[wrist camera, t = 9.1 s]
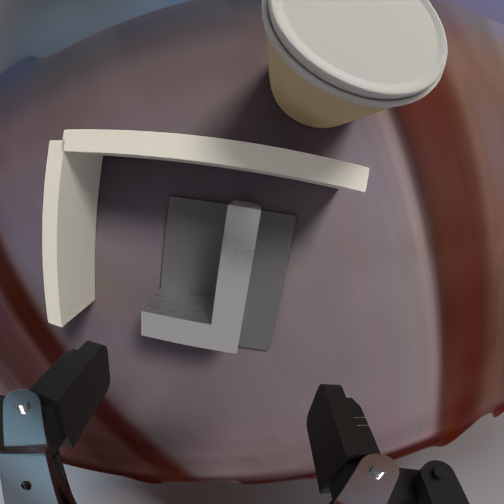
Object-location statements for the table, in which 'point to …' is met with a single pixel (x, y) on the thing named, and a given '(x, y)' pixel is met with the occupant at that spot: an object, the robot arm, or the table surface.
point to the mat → (208, 258)
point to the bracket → (205, 306)
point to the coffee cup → (351, 56)
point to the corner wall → (147, 147)
